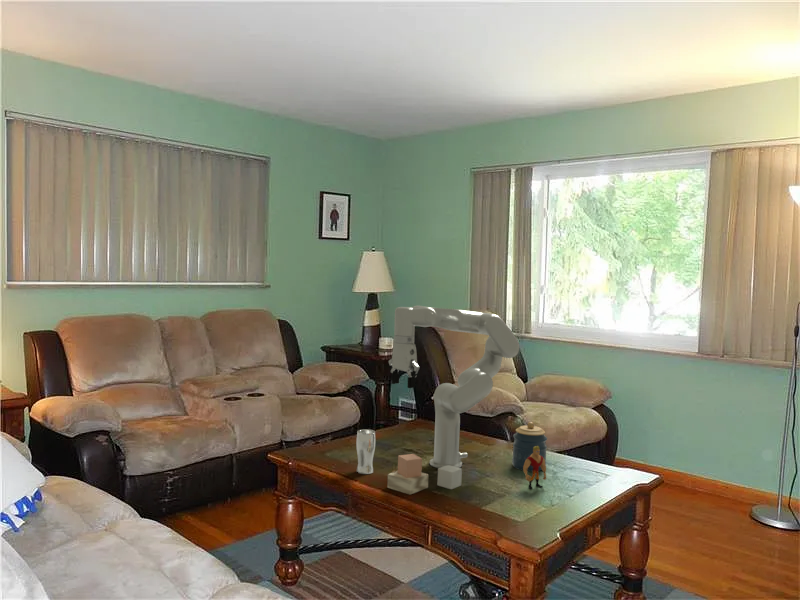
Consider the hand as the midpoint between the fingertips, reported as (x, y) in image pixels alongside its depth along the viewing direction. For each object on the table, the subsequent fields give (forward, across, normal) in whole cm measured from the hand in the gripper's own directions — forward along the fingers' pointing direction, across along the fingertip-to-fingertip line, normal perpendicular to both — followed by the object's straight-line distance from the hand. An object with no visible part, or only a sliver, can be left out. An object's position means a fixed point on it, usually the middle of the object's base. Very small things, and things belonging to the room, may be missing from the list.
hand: (403, 385), depth 239 cm
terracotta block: (+27, -18, +10) cm, 34 cm away
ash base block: (+32, -17, +11) cm, 38 cm away
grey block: (+32, -23, -3) cm, 40 cm away
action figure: (+32, -41, -27) cm, 59 cm away
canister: (+32, -24, -44) cm, 60 cm away
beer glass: (+32, +4, +13) cm, 35 cm away
